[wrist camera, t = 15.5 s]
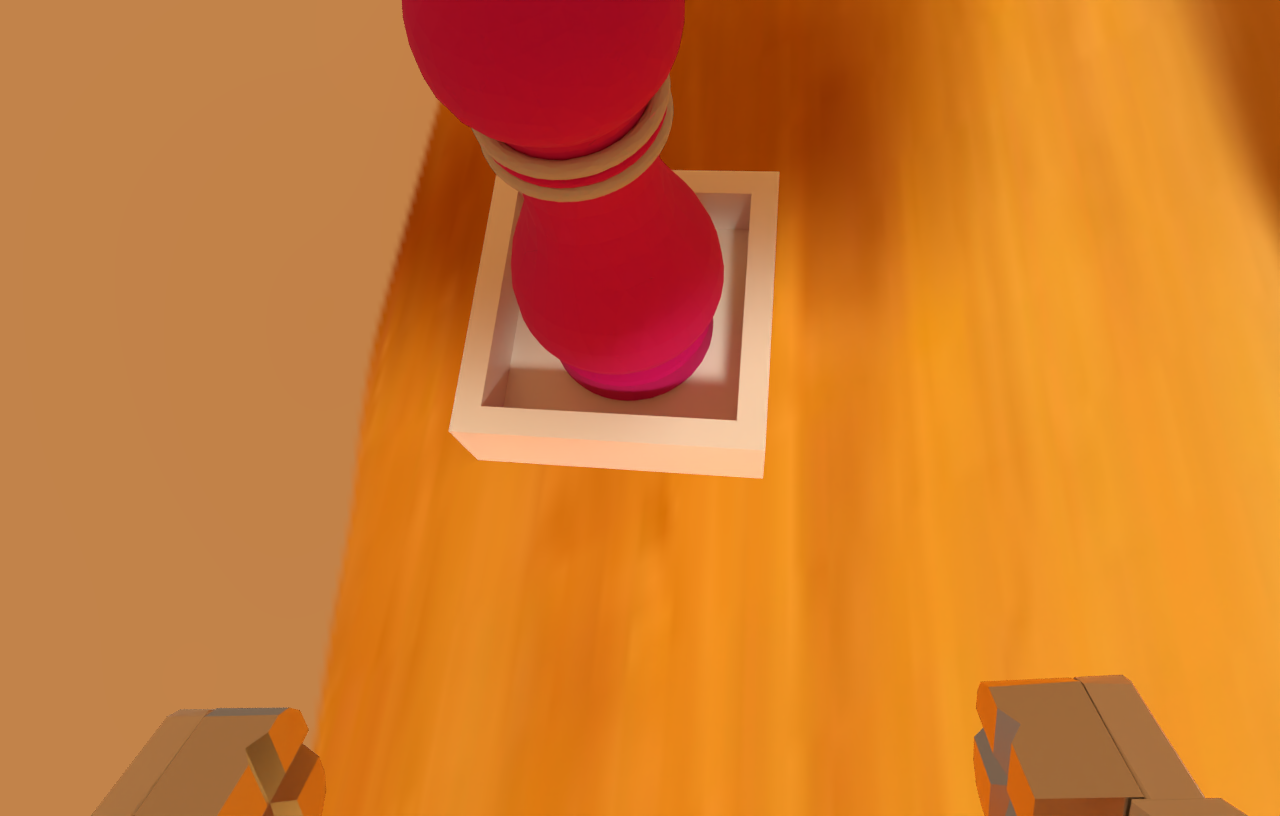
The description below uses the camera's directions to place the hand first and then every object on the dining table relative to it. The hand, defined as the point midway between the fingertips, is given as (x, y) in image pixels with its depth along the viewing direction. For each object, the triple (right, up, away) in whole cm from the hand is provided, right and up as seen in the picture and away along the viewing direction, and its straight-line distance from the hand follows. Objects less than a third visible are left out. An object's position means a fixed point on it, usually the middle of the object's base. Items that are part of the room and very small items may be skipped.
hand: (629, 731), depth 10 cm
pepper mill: (0, +7, +23) cm, 24 cm away
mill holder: (0, +7, +24) cm, 25 cm away
